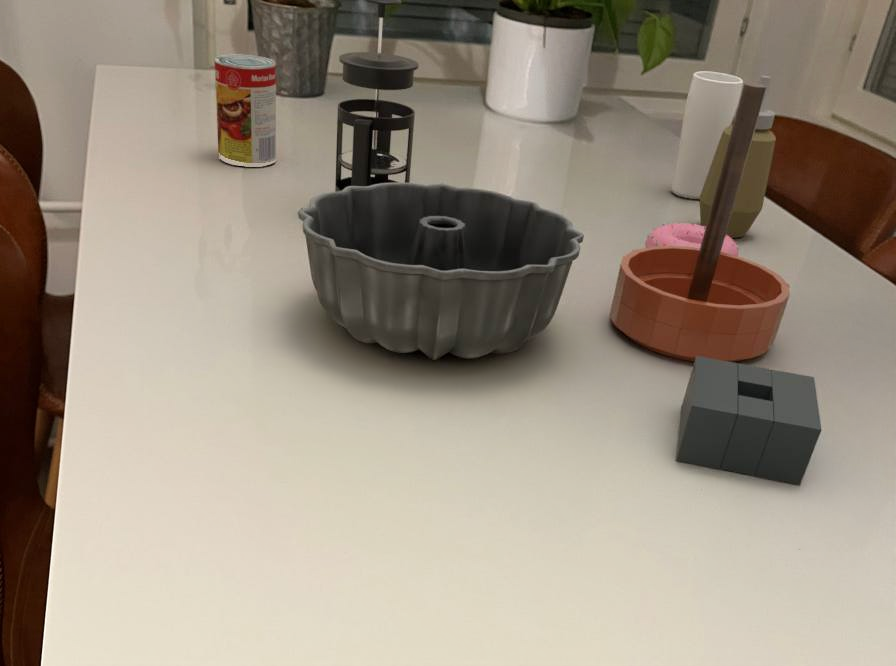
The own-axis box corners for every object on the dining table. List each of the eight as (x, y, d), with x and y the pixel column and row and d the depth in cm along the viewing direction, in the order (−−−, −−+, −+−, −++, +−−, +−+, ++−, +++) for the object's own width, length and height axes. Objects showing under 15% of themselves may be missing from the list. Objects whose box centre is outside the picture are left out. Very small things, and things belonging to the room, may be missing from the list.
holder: (794, 429, 87) (814, 376, 83) (800, 485, 79) (821, 429, 76) (680, 408, 88) (696, 355, 85) (675, 460, 80) (691, 405, 77)
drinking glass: (662, 196, 139) (690, 76, 129) (668, 184, 144) (695, 68, 134) (710, 205, 138) (742, 85, 128) (714, 193, 143) (745, 76, 133)
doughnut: (745, 269, 118) (756, 233, 116) (714, 293, 111) (724, 256, 108) (661, 245, 122) (670, 210, 120) (626, 267, 115) (634, 230, 112)
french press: (346, 197, 126) (354, -16, 111) (417, 209, 125) (435, -5, 110) (318, 224, 117) (323, -3, 103) (394, 237, 116) (410, 9, 101)
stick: (699, 323, 102) (766, 84, 87) (699, 330, 100) (767, 88, 86) (680, 320, 102) (744, 81, 88) (679, 327, 100) (744, 85, 86)
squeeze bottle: (686, 218, 132) (725, 66, 120) (746, 224, 132) (790, 73, 121) (697, 238, 126) (739, 80, 114) (759, 245, 126) (807, 87, 114)
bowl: (768, 318, 107) (786, 262, 103) (772, 381, 94) (793, 320, 90) (616, 291, 109) (628, 235, 105) (600, 349, 96) (613, 288, 93)
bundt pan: (267, 282, 102) (266, 180, 96) (496, 270, 111) (509, 175, 104) (346, 397, 84) (351, 280, 78) (612, 372, 93) (637, 265, 86)
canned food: (239, 148, 140) (236, 51, 132) (287, 159, 137) (287, 61, 130) (206, 159, 134) (202, 59, 126) (255, 171, 132) (254, 69, 124)
